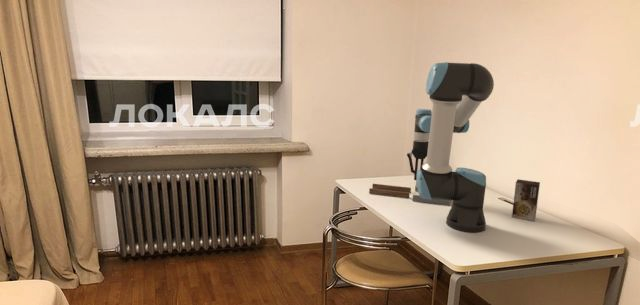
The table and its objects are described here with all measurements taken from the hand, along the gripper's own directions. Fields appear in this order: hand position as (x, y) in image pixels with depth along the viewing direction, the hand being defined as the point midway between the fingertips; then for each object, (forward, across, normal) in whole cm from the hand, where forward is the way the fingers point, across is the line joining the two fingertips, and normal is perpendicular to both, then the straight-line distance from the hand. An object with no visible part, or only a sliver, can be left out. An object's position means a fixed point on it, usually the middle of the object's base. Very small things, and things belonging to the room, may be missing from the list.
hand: (417, 186), depth 196 cm
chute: (+5, +13, 0) cm, 14 cm away
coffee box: (+5, -47, +14) cm, 49 cm away
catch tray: (+5, -7, 0) cm, 8 cm away
